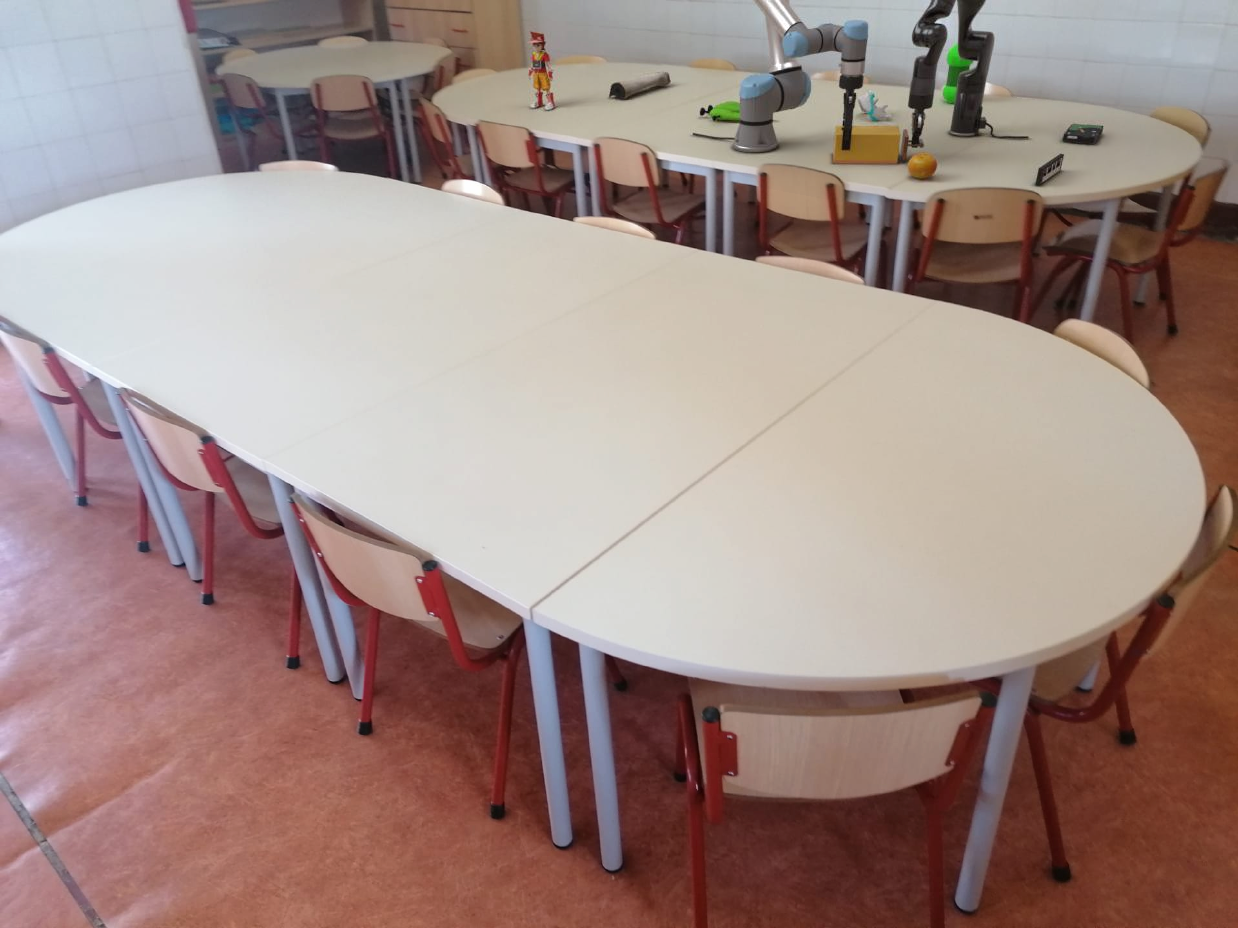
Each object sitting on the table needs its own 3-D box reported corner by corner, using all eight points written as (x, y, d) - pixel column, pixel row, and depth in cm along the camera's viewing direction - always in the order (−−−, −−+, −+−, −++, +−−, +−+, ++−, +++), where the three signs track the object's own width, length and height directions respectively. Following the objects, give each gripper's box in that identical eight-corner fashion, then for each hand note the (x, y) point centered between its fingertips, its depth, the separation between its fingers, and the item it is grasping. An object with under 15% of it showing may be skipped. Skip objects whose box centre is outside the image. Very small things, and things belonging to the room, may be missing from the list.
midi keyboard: (1039, 185, 269) (1043, 168, 266) (1035, 184, 270) (1038, 168, 267) (1060, 170, 279) (1064, 154, 277) (1056, 169, 280) (1060, 153, 277)
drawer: (920, 152, 300) (923, 129, 296) (922, 160, 293) (926, 137, 289) (845, 151, 305) (847, 129, 300) (846, 160, 297) (848, 137, 293)
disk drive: (1095, 145, 299) (1102, 133, 309) (1097, 137, 298) (1104, 125, 308) (1061, 142, 304) (1069, 130, 314) (1063, 134, 302) (1071, 122, 312)
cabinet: (895, 154, 303) (898, 126, 297) (897, 163, 294) (900, 134, 289) (833, 154, 306) (835, 126, 301) (833, 163, 298) (836, 134, 293)
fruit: (901, 168, 278) (918, 145, 275) (903, 171, 286) (919, 148, 282) (924, 184, 276) (941, 161, 273) (925, 186, 284) (942, 163, 281)
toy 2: (690, 119, 348) (760, 132, 336) (691, 105, 346) (762, 118, 333) (721, 108, 369) (789, 120, 356) (723, 95, 366) (791, 106, 353)
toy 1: (525, 109, 381) (517, 32, 364) (534, 104, 388) (527, 28, 371) (550, 110, 377) (543, 32, 360) (559, 105, 384) (553, 28, 367)
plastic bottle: (973, 101, 354) (984, 32, 339) (955, 106, 349) (966, 36, 335) (952, 97, 361) (962, 29, 346) (934, 102, 356) (944, 33, 342)
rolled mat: (651, 76, 408) (662, 61, 399) (662, 93, 408) (674, 79, 400) (605, 92, 391) (616, 77, 383) (617, 110, 391) (628, 95, 383)
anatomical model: (852, 90, 344) (878, 82, 343) (855, 117, 350) (880, 110, 349) (864, 99, 332) (891, 92, 331) (867, 127, 338) (893, 120, 337)
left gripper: (839, 67, 296) (833, 135, 309) (840, 83, 278) (834, 155, 290) (862, 66, 295) (856, 135, 308) (865, 82, 276) (857, 155, 289)
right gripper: (908, 87, 291) (901, 142, 301) (911, 96, 281) (903, 153, 291) (932, 87, 290) (924, 142, 300) (936, 96, 279) (928, 153, 289)
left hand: (845, 145), depth 299 cm, fingers closed on cabinet, 11 cm apart
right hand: (914, 147), depth 295 cm, fingers closed
